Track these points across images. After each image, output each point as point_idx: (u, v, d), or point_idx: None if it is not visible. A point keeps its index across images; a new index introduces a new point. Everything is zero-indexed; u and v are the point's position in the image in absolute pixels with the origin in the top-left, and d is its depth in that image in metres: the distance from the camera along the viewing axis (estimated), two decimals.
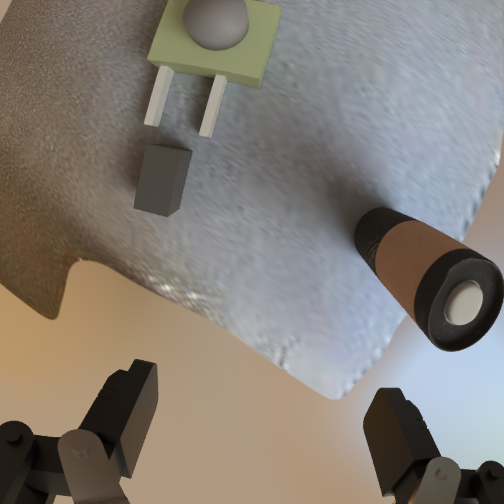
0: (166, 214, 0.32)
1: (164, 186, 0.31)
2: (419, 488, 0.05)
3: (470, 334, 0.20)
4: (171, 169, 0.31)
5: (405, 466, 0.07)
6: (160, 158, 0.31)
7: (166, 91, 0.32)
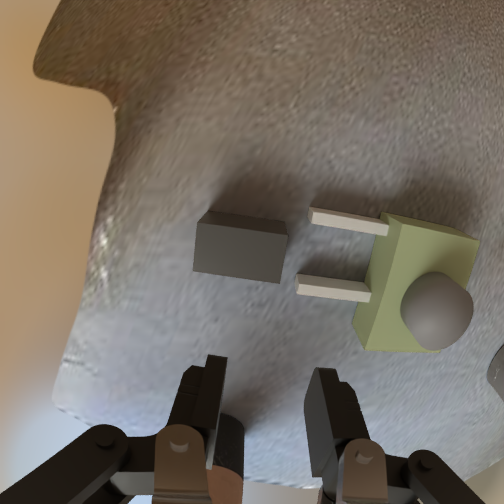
0: (195, 269, 0.25)
1: (232, 264, 0.25)
2: (343, 478, 0.06)
3: None
4: (255, 272, 0.25)
5: (328, 445, 0.08)
6: (269, 256, 0.25)
7: None
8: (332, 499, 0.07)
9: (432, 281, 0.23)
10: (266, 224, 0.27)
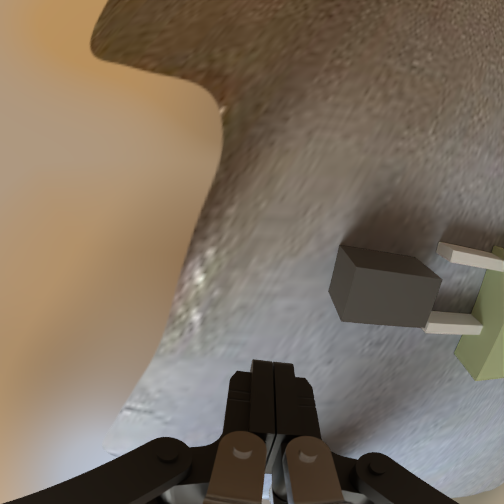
0: (345, 319, 0.21)
1: (385, 311, 0.21)
2: (291, 481, 0.06)
3: None
4: (405, 318, 0.21)
5: (274, 440, 0.08)
6: (422, 301, 0.20)
7: None
8: (284, 499, 0.07)
9: None
10: (409, 263, 0.22)
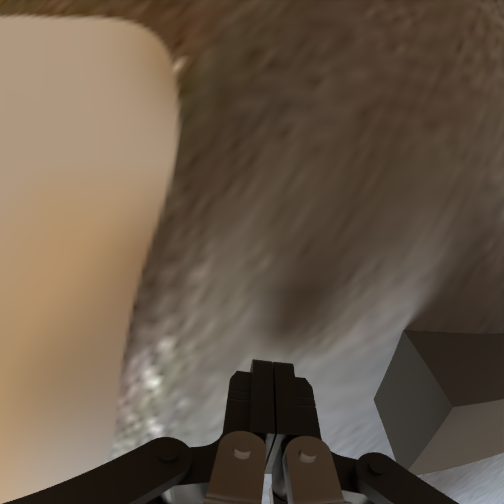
0: None
1: (472, 450, 0.08)
2: (291, 481, 0.06)
3: None
4: (494, 448, 0.09)
5: (274, 440, 0.08)
6: None
7: None
8: (284, 499, 0.07)
9: None
10: None
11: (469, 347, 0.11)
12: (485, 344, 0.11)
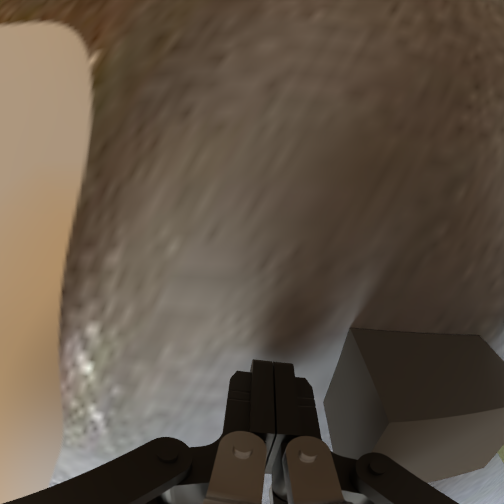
0: None
1: (429, 469, 0.08)
2: (291, 481, 0.06)
3: None
4: (460, 467, 0.08)
5: (274, 440, 0.08)
6: (494, 440, 0.07)
7: None
8: (284, 499, 0.07)
9: None
10: (480, 363, 0.09)
11: (430, 351, 0.10)
12: (452, 347, 0.11)
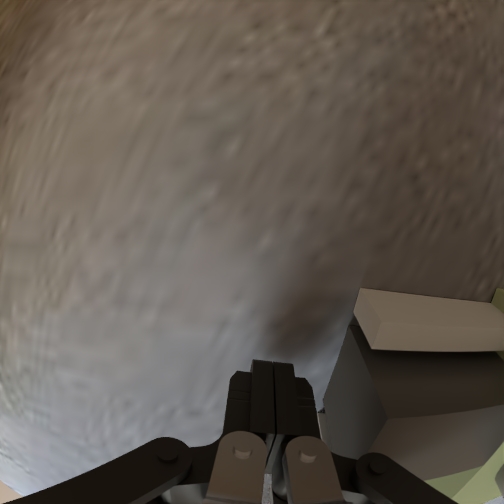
0: None
1: (428, 467, 0.08)
2: (291, 481, 0.06)
3: None
4: (459, 465, 0.08)
5: (274, 440, 0.08)
6: (493, 437, 0.08)
7: None
8: (284, 499, 0.07)
9: None
10: (479, 361, 0.09)
11: None
12: None
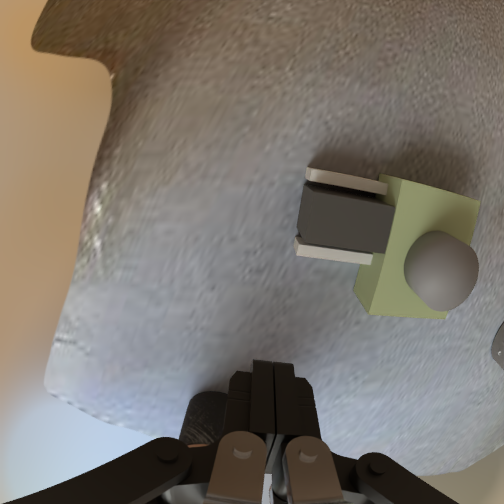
0: (307, 240, 0.25)
1: (344, 234, 0.24)
2: (291, 481, 0.06)
3: None
4: (364, 242, 0.25)
5: (274, 440, 0.08)
6: (378, 227, 0.24)
7: None
8: (284, 499, 0.07)
9: (435, 238, 0.23)
10: (367, 198, 0.26)
11: (340, 192, 0.27)
12: (353, 194, 0.27)
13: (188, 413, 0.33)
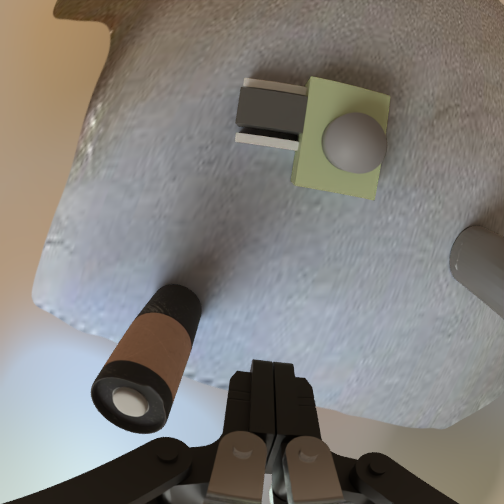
0: (238, 121, 0.31)
1: (266, 116, 0.31)
2: (291, 481, 0.06)
3: (111, 412, 0.26)
4: (283, 123, 0.31)
5: (274, 440, 0.08)
6: (294, 111, 0.30)
7: None
8: (284, 499, 0.07)
9: None
10: None
11: None
12: None
13: (149, 300, 0.40)
